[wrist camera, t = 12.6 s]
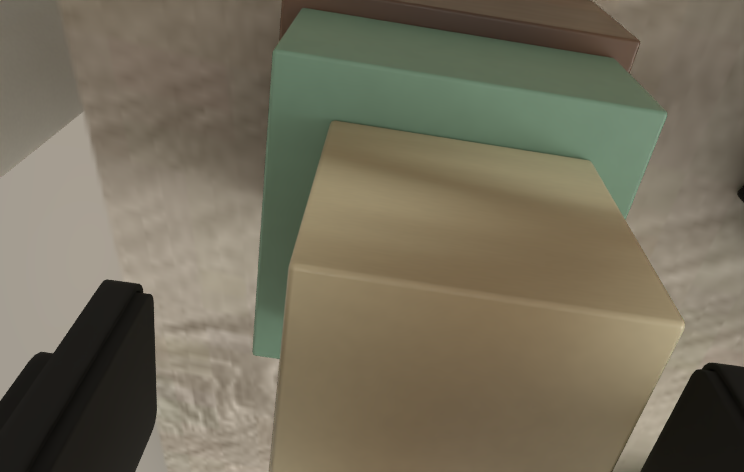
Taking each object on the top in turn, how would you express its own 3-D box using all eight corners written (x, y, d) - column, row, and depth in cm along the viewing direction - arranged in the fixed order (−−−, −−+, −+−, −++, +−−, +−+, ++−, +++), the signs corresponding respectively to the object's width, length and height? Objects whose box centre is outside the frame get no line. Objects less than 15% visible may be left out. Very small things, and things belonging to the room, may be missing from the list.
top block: (278, 270, 20) (251, 356, 17) (301, 6, 16) (271, 48, 13) (530, 307, 20) (554, 400, 17) (615, 57, 16) (670, 112, 13)
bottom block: (287, 206, 25) (261, 281, 20) (309, -47, 20) (282, -18, 16) (518, 241, 25) (541, 322, 21) (593, 0, 20) (642, 40, 16)
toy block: (306, 325, 16) (263, 521, 11) (330, 117, 13) (287, 265, 9) (522, 357, 16) (568, 563, 12) (592, 159, 14) (690, 325, 9)
